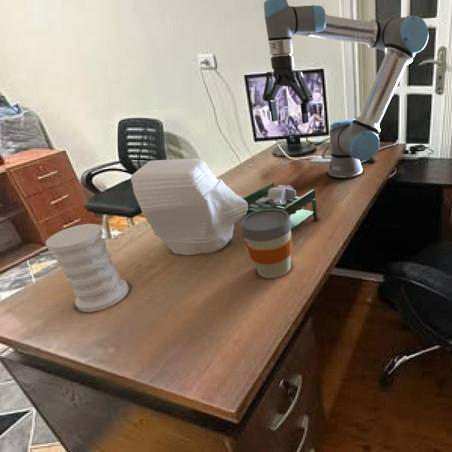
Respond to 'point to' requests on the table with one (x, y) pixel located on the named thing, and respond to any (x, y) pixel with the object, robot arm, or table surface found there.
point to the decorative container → (88, 267)
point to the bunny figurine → (279, 195)
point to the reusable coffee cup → (269, 241)
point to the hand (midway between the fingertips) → (290, 121)
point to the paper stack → (187, 205)
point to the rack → (285, 205)
